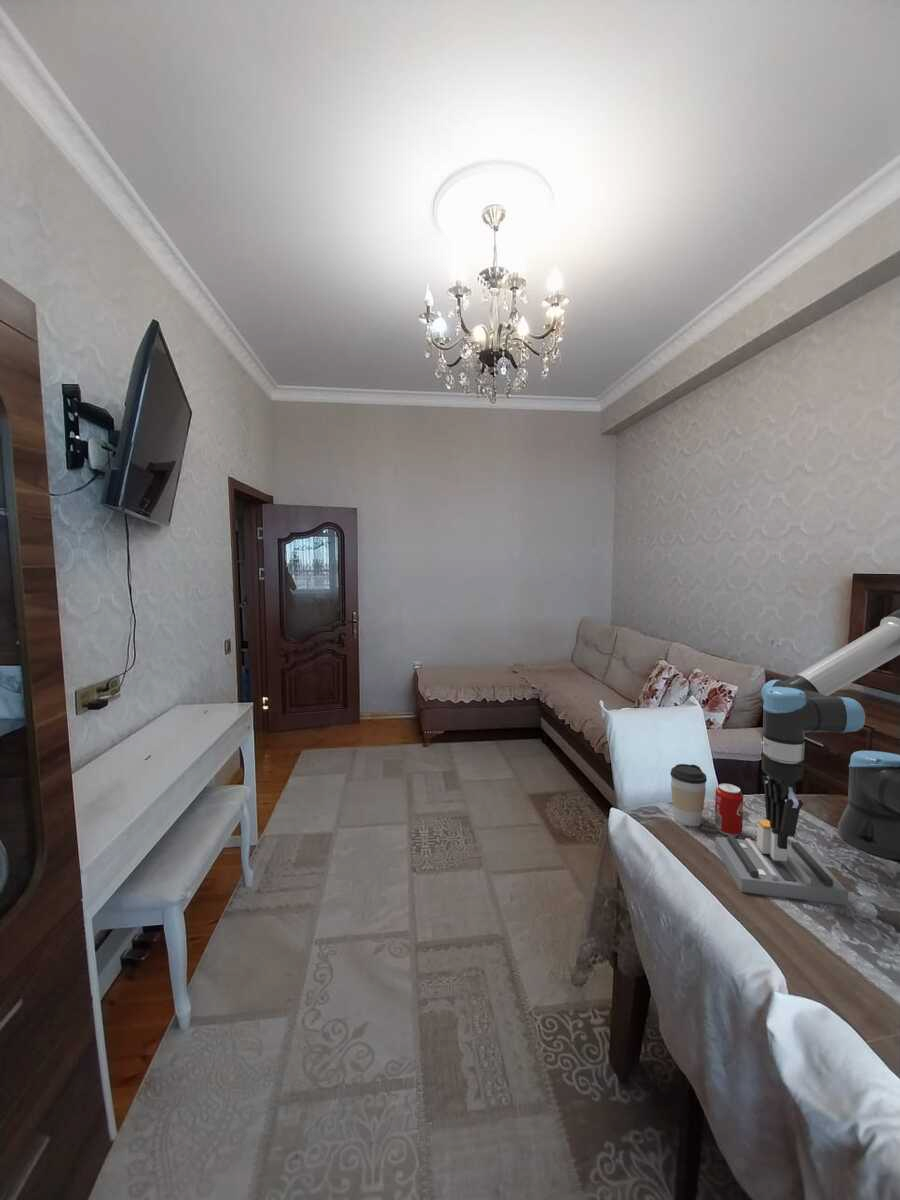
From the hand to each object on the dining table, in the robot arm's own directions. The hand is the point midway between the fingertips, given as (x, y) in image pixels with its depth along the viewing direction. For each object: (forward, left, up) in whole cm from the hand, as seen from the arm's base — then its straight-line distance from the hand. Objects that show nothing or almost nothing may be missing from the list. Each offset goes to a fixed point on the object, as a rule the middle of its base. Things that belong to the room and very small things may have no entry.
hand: (778, 858), depth 105 cm
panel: (0, -1, -4) cm, 4 cm away
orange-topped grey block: (0, -4, -1) cm, 4 cm away
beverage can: (+4, -18, -5) cm, 19 cm away
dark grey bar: (-7, -1, -4) cm, 8 cm away
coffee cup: (+13, -22, -5) cm, 26 cm away
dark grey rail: (+7, -1, -4) cm, 8 cm away
